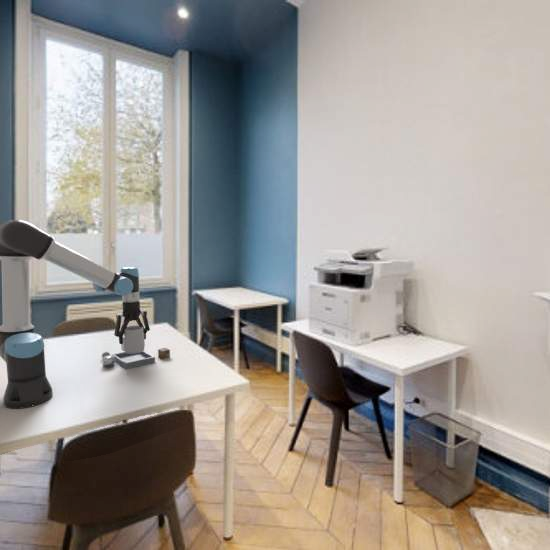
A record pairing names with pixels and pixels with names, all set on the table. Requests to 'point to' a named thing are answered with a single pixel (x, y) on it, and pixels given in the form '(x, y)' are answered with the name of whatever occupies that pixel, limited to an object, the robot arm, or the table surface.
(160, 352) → the walnut block
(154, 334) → the table surface
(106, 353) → the rubber ball
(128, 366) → the tray
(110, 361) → the chrome bearing sphere
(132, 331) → the mug
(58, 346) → the table surface
